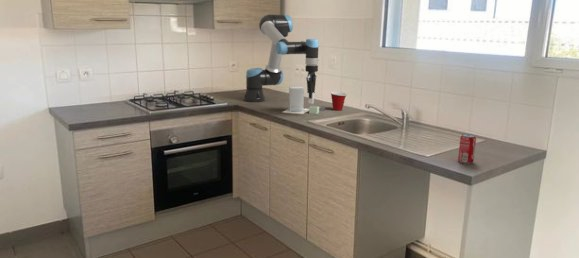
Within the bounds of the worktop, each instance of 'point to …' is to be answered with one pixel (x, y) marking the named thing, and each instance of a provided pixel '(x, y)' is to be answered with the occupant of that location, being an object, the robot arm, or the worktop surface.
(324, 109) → the button track
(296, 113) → the sketch pad
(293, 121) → the worktop surface
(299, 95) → the supplement box
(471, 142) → the soda can
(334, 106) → the plastic cup
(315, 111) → the button
